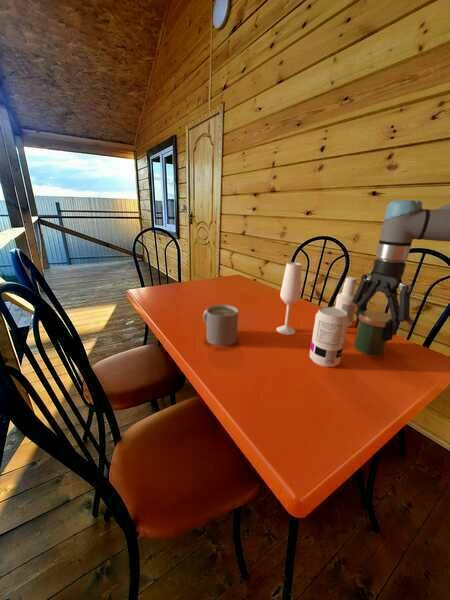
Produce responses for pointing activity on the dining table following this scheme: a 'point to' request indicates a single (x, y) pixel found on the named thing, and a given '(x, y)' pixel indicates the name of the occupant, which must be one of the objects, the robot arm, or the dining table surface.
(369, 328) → the jam jar
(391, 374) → the dining table surface
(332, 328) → the supplement can
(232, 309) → the coffee mug
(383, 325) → the jar lid
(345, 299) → the spray bottle
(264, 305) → the dining table surface
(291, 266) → the champagne flute
